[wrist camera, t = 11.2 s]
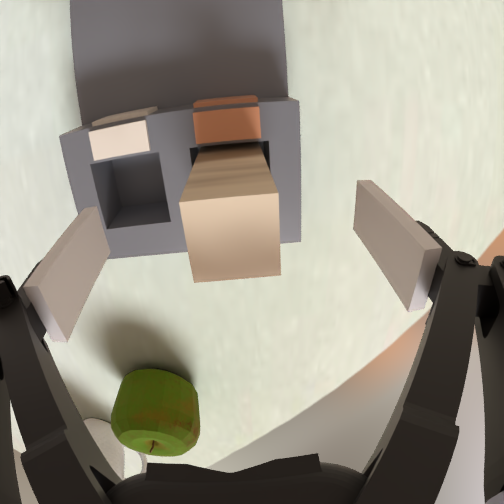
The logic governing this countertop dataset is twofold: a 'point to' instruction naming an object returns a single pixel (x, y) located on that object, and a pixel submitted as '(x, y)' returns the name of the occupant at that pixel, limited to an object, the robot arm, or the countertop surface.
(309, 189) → the countertop surface
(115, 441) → the mug
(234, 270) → the birch plug
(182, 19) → the socket station
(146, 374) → the apple
